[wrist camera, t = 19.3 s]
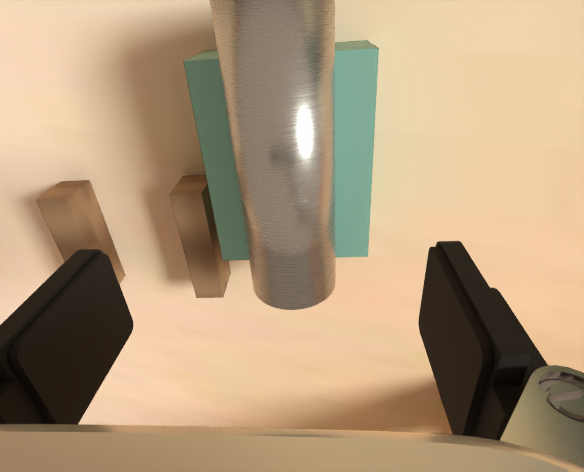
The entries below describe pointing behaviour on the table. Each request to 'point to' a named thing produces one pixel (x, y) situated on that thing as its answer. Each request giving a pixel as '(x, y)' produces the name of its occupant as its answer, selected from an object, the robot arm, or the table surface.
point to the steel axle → (283, 140)
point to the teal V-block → (348, 147)
